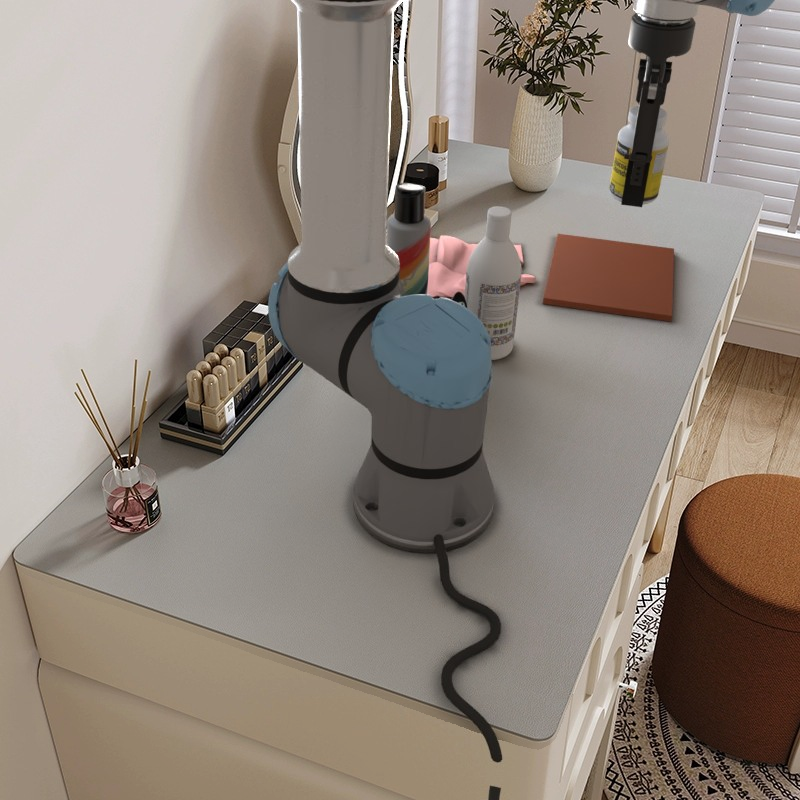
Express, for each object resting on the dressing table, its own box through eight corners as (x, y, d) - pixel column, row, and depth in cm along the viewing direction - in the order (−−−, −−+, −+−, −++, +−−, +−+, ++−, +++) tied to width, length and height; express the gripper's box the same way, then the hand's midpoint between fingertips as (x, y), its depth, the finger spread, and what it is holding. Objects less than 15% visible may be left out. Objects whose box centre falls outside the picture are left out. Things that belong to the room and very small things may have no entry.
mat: (671, 321, 143) (672, 315, 143) (542, 303, 146) (543, 297, 146) (673, 254, 159) (674, 248, 158) (556, 238, 162) (557, 233, 161)
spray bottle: (379, 325, 141) (381, 190, 128) (392, 304, 145) (396, 172, 133) (418, 333, 139) (424, 198, 127) (431, 312, 143) (438, 180, 131)
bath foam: (523, 350, 137) (540, 213, 125) (485, 368, 133) (498, 229, 121) (488, 327, 141) (500, 193, 129) (450, 344, 137) (459, 208, 125)
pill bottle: (598, 190, 138) (611, 106, 130) (637, 181, 140) (652, 98, 133) (628, 210, 133) (643, 124, 126) (668, 201, 135) (684, 116, 128)
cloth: (370, 278, 151) (370, 263, 149) (447, 222, 165) (448, 208, 164) (491, 322, 142) (492, 307, 140) (561, 259, 157) (563, 245, 155)
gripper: (696, 44, 114) (659, 230, 128) (697, -5, 129) (664, 166, 143) (627, 37, 115) (598, 222, 129) (636, -11, 130) (610, 159, 144)
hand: (633, 192), depth 136 cm, fingers closed on pill bottle, 6 cm apart
